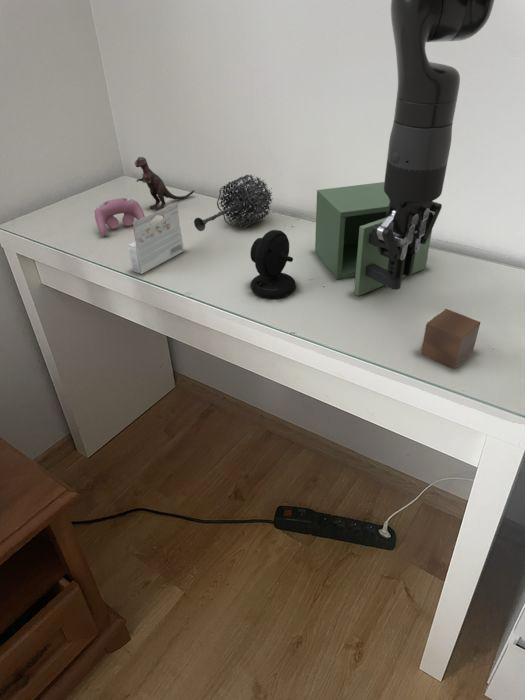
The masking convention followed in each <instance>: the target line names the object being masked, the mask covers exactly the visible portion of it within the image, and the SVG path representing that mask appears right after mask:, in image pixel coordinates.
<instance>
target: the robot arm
mask: <svg viewBox="0 0 525 700" xmlns="http://www.w3.org/2000/svg"><path fill="white" fill-rule="evenodd" d="M494 3H495V0H391V3H390V19H391V20H390V21H391V28H392V35H393V41H394V47H395V48H394V50H395V57H396V69H397V89H396V99H395V109H394V117H393V122H392V127H391V131H390V135H389V139H388V149H387V157H386V166H385V175H384V181H383V182H384V192H385V193H386V195H387V196H388V198H389V200H390V203H389V206H388V209H387V212H386V220H385V221H384V222H383V223H382V224H381V225H378V224H375V225H374V226H373V228H372V233H373V235H374V238H375V241H376V244H377V247H378V250H379V253H380V255H383V256H385V257H388V258H389V262H388V270H387V277H388V278H389V279H391V280H394V281H396V282H399V281H400V280H401V281H402V280H403V278H404V277H403V275H405V276H406V277H408V276H411V275H413V274H412V270H413V264H414V258H415V252H417V251H418V250H419V248H420V244H425V243H426V242H427V239H428V237H429V235H430V233H431V230H432V231H433V228H434V226H435V224H436V221H437V219H438V217H439V214H440V212H441V210H442V207H443V205H442V203H439V202H437V201H435V200H437V199H438V198H439V197H440V196H441V195H442V193H443V188H444V184H445V183H444V182H445V177H446V173H447V168H448V167H447V166H448V162H449V158H450V157H449V156H450V151H451V146H452V138H453V137H452V136H453V124H454V120H455V119H454V118H455V112H456V107H457V102H458V98H459V97H458V96H459V91H460V84H461V76H460V72H459V71H458V70H457V68H455V67H453V66H450V65H447V64H443V63H437V62H432V61H429V58H428V56H427V52H426V43H442V42H443V43H444V42H460V41H464V40H467V39H469V38H472V37H473V36H475V35H476V34H477V33H478V32H480V31H481V30H482V28H484V27H485V25H486V23H487V22H488V21H489V19H490V16H491V14H492V11H493V8H494ZM431 234H432V233H431ZM396 243H399V244H400V250H399V249H398V248H397V244H396ZM410 274H411V275H410Z"/></svg>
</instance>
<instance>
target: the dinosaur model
mask: <svg viewBox="0 0 525 700" xmlns="http://www.w3.org/2000/svg"><path fill="white" fill-rule="evenodd" d="M134 166H135V167H136V168H141V170H142V177H141V178H137V179H136V183H138V182H142V183H143V184H144V183H145V184H146V186H147V188H148V189H149V193H150V196H151V197H152V199H154V200H155V203H154V204H153V205H149V209H150V210H154V209H155V210H156V211H155V212H157V211H159V210H161V209H163V208H165V207H166V205H167V203H166V201H165V198H166V199H168V198H169V199H172V200H174V201H176V200H185V199H187V198H189V197H190V196H191V195H193V194H194V192H195V190H192V191H191V192H189V193H187V194H186V195H182V196H179V195H174V194H173V193H172V192H171V191H170V190H168V188H167V187H166V184H165V183H164V182H165V181H163V179H162V178H161V177H160V176H159V175H158V174H157V173H155V172H154V171H153V170H152V169H151V168H150V167H149V164H148V161H147V159H146V157H144V156H138V157H137V158H136V160H134ZM159 205H160V206H159Z"/></svg>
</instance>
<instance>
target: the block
mask: <svg viewBox="0 0 525 700" xmlns="http://www.w3.org/2000/svg"><path fill="white" fill-rule="evenodd" d="M480 327H481V321H480V320H476V319H474V318H471V317H468V316H466V315H464V314H461V313H458V312H455V311H453V310H451V309H449V308H445V309H443V310H442V311H441V312H439V313H438V314H437V315H435V316H434V317H433V318H432V319H430V320H429V321H427V322H426V324H425V329H424V333H423V334H424V335H423V339H422V345H421V351H420V355H422V356H425V357H426V358H429V359H431V360H433V361H436V362H438V363H440V364H442V365H444V366H446V367H449V368H451V369H452V370H455V369H456V368H458V367H459V366H460V365H461V364H462V363H463V362H464V361H465V360H466V359H468V358H469V357H470V356H471V355H472V354H474V350H475V347H476V342H477V339H478V336H479V335H478V334H479V330H480Z"/></svg>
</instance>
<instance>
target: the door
mask: <svg viewBox="0 0 525 700" xmlns="http://www.w3.org/2000/svg"><path fill="white" fill-rule="evenodd" d="M385 220H386V218H384V219H381V220H378V221H374V222H371V223H368V224H365V225H362V226H360V228H359V240H358V252H357V263H356V275H355V278H354V288H353V289H354V290H353V294H354V295H355V296H357V297H360V296H362V295H364V294H367V293H369V292H372V291H374V290H377V289H379V288H381V287H384V286H385V287H387V288H389V289H390V290H392V291H397V290H400V289H401V286H402V280H400V281H399V282H396V281H394V280H391V279H389V278H388V277H387V270H388V262H389V258H388V257H385V256H383V255H380V253H379V250H378V247H377V244H376V241H375V238H374V235H373V233H372V228H373V226H374V225H375V224H378V225H381V224H382V223H383V222H384V221H385ZM432 232H433V229H432V230H431V233H430V235H429V237H428V239H427V242H426V243H425V244H420V248H419V250H418V251H417V252H415V258H414V264H413V270H412V274H410V275H409V276H411V275H413V274H415V273H417V272H420V271H423V270H426V268H427V263H428V257H429V250H430V245H431V239H432ZM396 244H397V248H398V249H399V250H400V244H399V243H396ZM405 277H407V276H405V275H403V278H405Z"/></svg>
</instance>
